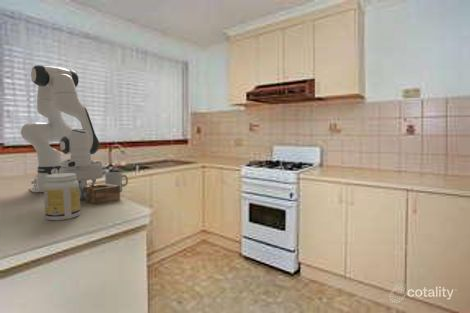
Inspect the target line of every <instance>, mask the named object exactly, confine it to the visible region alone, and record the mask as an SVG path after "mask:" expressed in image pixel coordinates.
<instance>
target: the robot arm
mask: <svg viewBox="0 0 470 313" xmlns="http://www.w3.org/2000/svg"><path fill="white" fill-rule="evenodd" d="M30 77H31V81H32V83H33V84H34V85H36V86H38V87H37V99H36V110H37V112H38V114H39V115H41V116H43V117H45V118H47V119H48V122H29V123H24V124H23V125H22V127H21V130H20V135H21V137H22V138H23V140H24V141H26V142H28V143H29V144H30V145H31V146H33V148H34V149H35V151H36V155H37V161H38V162H37V163H38V166H37V174H36V175H35V176H34V178H33V179H31V183H30V184H32V185H33V186H29V190H30V191H31V192H32V193H44V188H43V187H44V184H45V183H46V182H47V181H46V180H45V179H46V176H47V175H51V174H59V173H75V174H76V177H77V178H76V179H75V180H77V181H81V180H82V178H85V179H86V180H87V181H91V184H89V186H88V187H90V186H95V184H96V182H97V179H98V180H99V179H102V178H103V177H104V174H103V164H102V162H101V161H100V160H92V155H94V154H96V153H97V152H98V151H99V149H100V141H99V138H98V137H97V135H96V132H95V130H94V126H93V123H92V120H91V118H90V115H89V112H88V109H87V108H86V106H84V105H83V104H82V103H81V102H80V100H79V96H78V92H77V86H78V85H79V81H80V80H79V75H78V73H77V72H76V71H75V70H73V69H67V68H63V67H57V66H48V65H47V66H46V65H34V66H33V67H32V68H31V70H30ZM62 113H64V114H66V115H69V116H71V117H74V118H75V119H76V120H78V121H79V123H80V125H81V128H72V126H71V125H69V123H67V122H66V121H65V120H64V118H63V116H62ZM56 142H57V143H58V142H59V149H56V148H54V147H51V145H50V143H56ZM61 152H62V153H63V154H64V155H68V156H69V155H70V158H69V159H66V160H63V161H62V158H61V157H62V156H61V155H62V154H61Z"/></svg>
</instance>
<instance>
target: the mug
mask: <svg viewBox="0 0 470 313" xmlns="http://www.w3.org/2000/svg"><path fill="white" fill-rule="evenodd" d="M104 176H105V178H104V179H105V181H104V182H105V184H113V185H118V186H120V193H122V192H123V187H126V186H128V183H129V179H128V176H127V175H126V174H122V172H121V171H108V172H105V173H104ZM122 178H125V183H123V182H122V181H123V179H122Z"/></svg>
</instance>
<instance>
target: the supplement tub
mask: <svg viewBox="0 0 470 313" xmlns="http://www.w3.org/2000/svg"><path fill="white" fill-rule="evenodd" d="M76 178H77V177H76V174H75V173H59V174H51V175H47V176H46V179H45V180H46V181H47V182H46V183H45V184H44V187H43V188H44V192H43V200H44V214H45V215H44V216H45V218H46V220H48V221H65V220H71V219H74V218H76V217H79V215H80V214H81V201H80V193H79V182H78V181H77V180H75V179H76Z"/></svg>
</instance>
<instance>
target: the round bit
mask: <svg viewBox="0 0 470 313" xmlns="http://www.w3.org/2000/svg"><path fill="white" fill-rule="evenodd" d="M78 182H79V193H80V202H81V201H82V200H83V201H86V194H85V187H88V186H87V184H88V183H87V182H88V180H86V179H85V178H82V180H81V181H78Z"/></svg>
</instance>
